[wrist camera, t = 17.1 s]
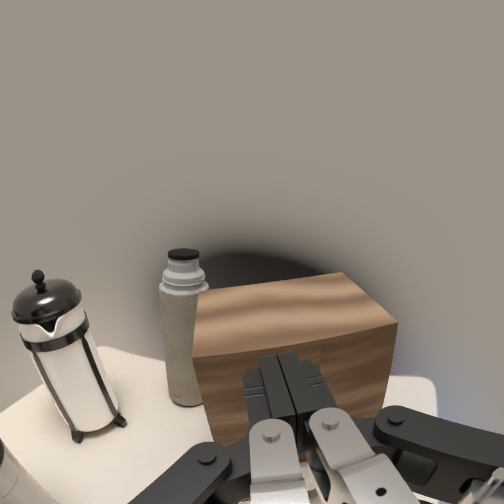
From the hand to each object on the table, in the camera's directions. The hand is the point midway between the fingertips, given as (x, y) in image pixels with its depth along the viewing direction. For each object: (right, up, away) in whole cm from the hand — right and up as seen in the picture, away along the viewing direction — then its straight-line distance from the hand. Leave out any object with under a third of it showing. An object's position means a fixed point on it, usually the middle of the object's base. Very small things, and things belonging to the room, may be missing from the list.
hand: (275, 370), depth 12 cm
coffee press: (-32, -27, +35) cm, 54 cm away
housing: (+5, -26, +26) cm, 37 cm away
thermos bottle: (-13, -22, +42) cm, 49 cm away
